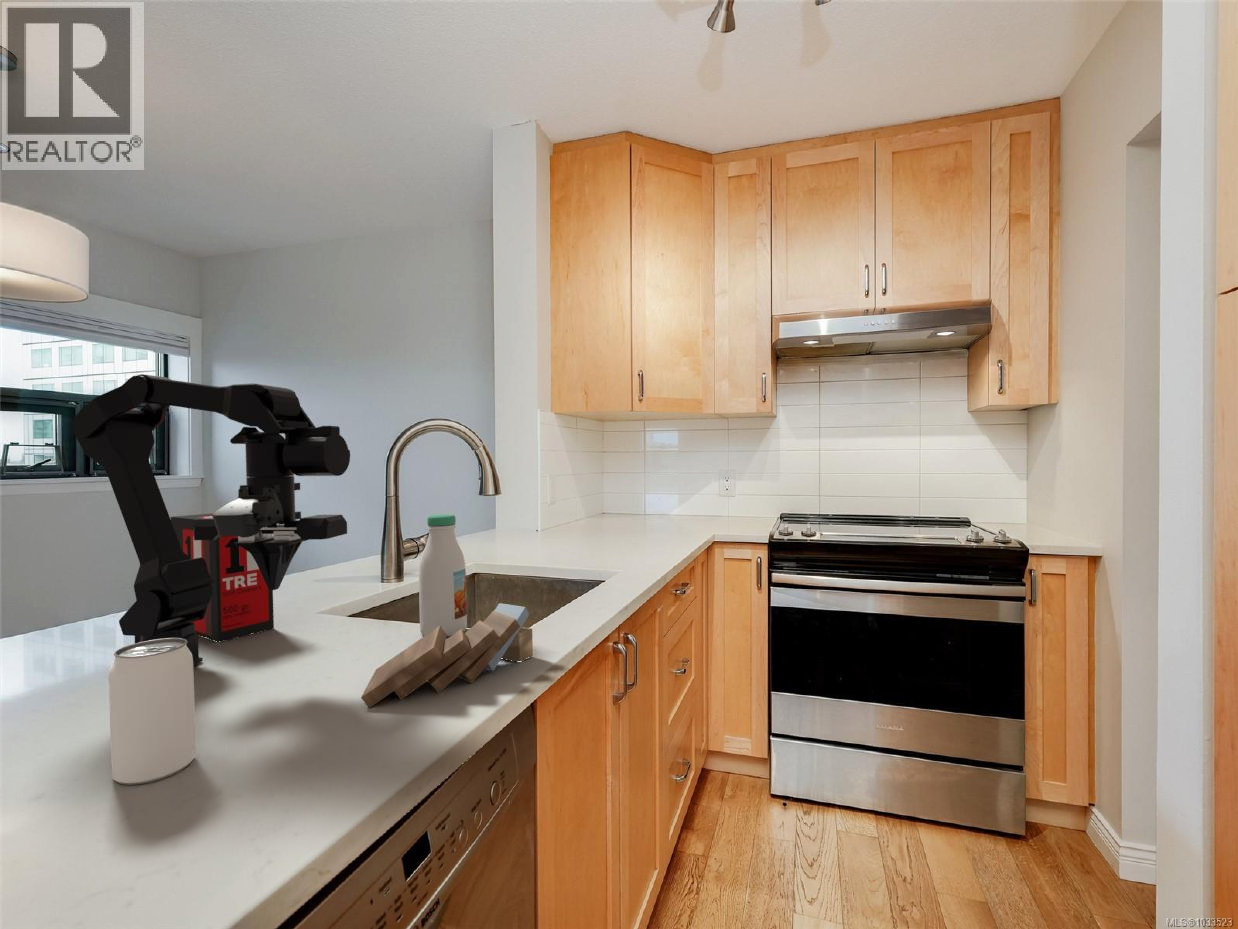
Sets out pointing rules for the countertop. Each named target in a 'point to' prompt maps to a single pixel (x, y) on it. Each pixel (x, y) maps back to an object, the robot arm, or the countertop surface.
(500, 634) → the domino
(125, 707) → the can
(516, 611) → the domino
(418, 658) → the domino
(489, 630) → the domino
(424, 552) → the milk bottle
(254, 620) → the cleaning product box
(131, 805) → the countertop surface
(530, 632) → the block
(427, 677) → the domino
